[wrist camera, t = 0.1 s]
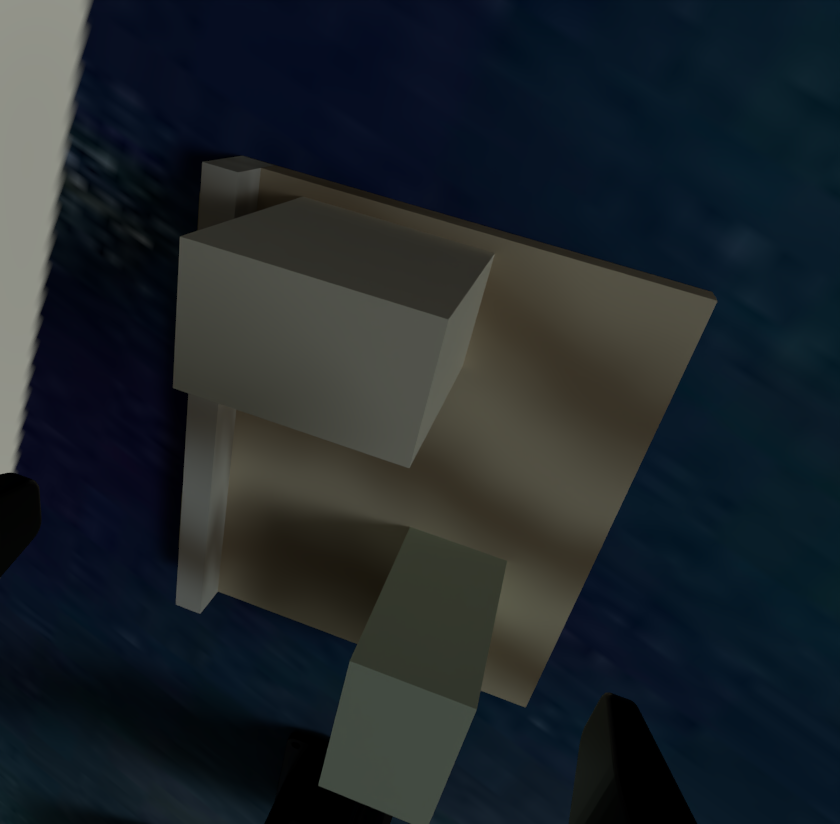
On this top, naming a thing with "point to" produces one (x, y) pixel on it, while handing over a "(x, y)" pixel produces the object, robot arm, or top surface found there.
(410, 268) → the cream carton
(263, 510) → the beige shallow tray
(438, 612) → the sage carton
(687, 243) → the top surface
